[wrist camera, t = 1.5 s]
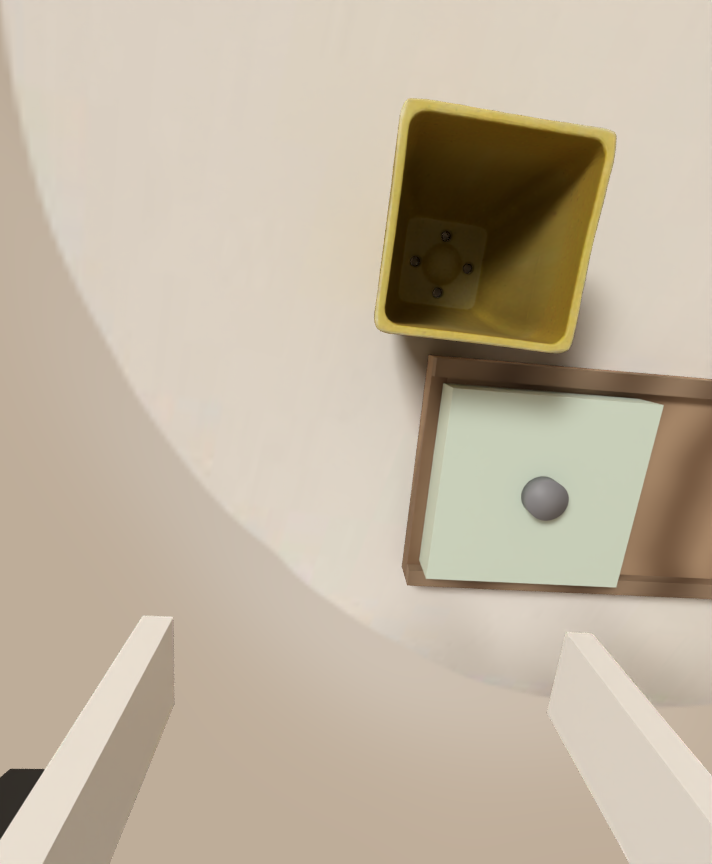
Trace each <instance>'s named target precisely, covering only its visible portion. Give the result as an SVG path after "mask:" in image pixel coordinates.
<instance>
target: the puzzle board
mask: <svg viewBox="0 0 712 864" xmlns="http://www.w3.org/2000/svg"><path fill="white" fill-rule="evenodd" d="M443 383H454V384H467V385H479V386H491V387H503V388H516V389H528V390H540V391H553V392H565V393H577V394H589V395H602V396H614V397H624V398H636V399H641V400H645V401H649V402H653V403H657V404H661V405H664V406H663V410H662V414H661V418H660V422H659V426H658V429H657V433H656V437H655V441H654V445H653V449H652V452H651V456H650V460H649V464H648V468H647V472H646V475H645V479H644V483H643V487H642V491H641V494H640V498H639V502H638V506H637V510H636V514H635V517H634V521H633V525H632V529H631V533H630V537H629V540H628V544H627V548H626V552H625V556H624V560H623V563H622V567H621V571H620V575H619V579H618V582H617V586H616V587H594V586H573V585H551V584H529V583H508V582H486V581H464V580H443V579H426V577H425V575H424V572H423V569H422V566H421V564H420V561H419V557H420V550H421V543H422V535H423V528H424V521H425V513H426V506H427V499H428V491H429V484H430V477H431V469H432V462H433V455H434V447H435V440H436V433H437V425H438V418H439V411H440V403H441V396H442V389H443ZM402 569H403V572H404V576H405V579H406V582H407V585H411V586H433V587H455V588H477V589H500V590H522V591H544V592H566V593H589V594H611V595H633V596H655V597H678V598H700V599H712V379H704V378H692V377H680V376H669V375H657V374H646V373H634V372H622V371H611V370H599V369H587V368H576V367H564V366H553V365H541V364H529V363H518V362H506V361H494V360H483V359H471V358H460V357H448V356H436V355H428V363H427V371H426V379H425V387H424V395H423V403H422V411H421V419H420V427H419V435H418V443H417V451H416V458H415V466H414V474H413V482H412V490H411V498H410V506H409V514H408V522H407V530H406V538H405V546H404V554H403V561H402Z"/></svg>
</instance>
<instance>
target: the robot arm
mask: <svg viewBox="0 0 712 864" xmlns="http://www.w3.org/2000/svg"><path fill="white" fill-rule="evenodd" d="M173 634H174V631H173V617H165V616H142V618H141V619H140V621H139V622H138V624H137V625H136V627H135V629H134V630H133V632H132V633H131V635H130V636H129V638H128V640H127V641H126V643H125V644H124V646H123V647H122V649H121V651H120V652H119V654H118V655H117V657H116V659H115V660H114V662H113V663H112V665H111V666H110V668H109V669H108V671H107V673H106V674H105V676H104V677H103V679H102V681H101V682H100V684H99V685H98V687H97V688H96V690H95V692H94V693H93V695H92V696H91V698H90V699H89V701H88V703H87V704H86V706H85V707H84V709H83V710H82V712H81V713H80V715H79V717H78V718H77V720H76V721H75V723H74V724H73V726H72V728H71V729H70V731H69V733H68V734H67V736H66V737H65V739H64V740H63V742H62V744H61V745H60V747H59V748H58V750H57V751H56V753H55V754H54V756H53V758H52V759H51V761H50V762H49V764H48V765H47V767H46V769H10V770H8V771H7V772H6V773H5V774H4V775H3V776H2V777H0V864H110V861H111V859H112V856H113V854H114V852H115V849H116V847H117V844H118V842H119V839H120V837H121V834H122V832H123V829H124V827H125V825H126V822H127V820H128V817H129V815H130V812H131V810H132V807H133V805H134V802H135V800H136V798H137V795H138V793H139V790H140V787H141V785H142V783H143V780H144V778H145V775H146V773H147V770H148V768H149V765H150V763H151V761H152V758H153V756H154V753H155V751H156V748H157V746H158V743H159V741H160V738H161V736H162V733H163V731H164V729H165V726H166V724H167V721H168V719H169V716H170V714H171V711H172V709H173V706H174V638H173V637H174V635H173ZM547 715H548V717H549V718H550V720H551V722H552V724H553V726H554V728H555V729H556V731H557V733H558V735H559V737H560V738H561V740H562V742H563V744H564V746H565V747H566V749H567V751H568V753H569V755H570V756H571V758H572V760H573V762H574V764H575V766H576V767H577V769H578V771H579V773H580V774H581V776H582V778H583V780H584V782H585V784H586V785H587V787H588V789H589V791H590V793H591V795H592V796H593V798H594V800H595V802H596V804H597V805H598V807H599V809H600V811H601V813H602V814H603V816H604V818H605V820H606V822H607V823H608V825H609V827H610V829H611V830H612V833H613V834H614V836H615V838H616V840H617V841H618V843H619V845H620V847H621V849H622V851H623V852H624V854H625V856H626V858H627V860H628V861H629V863H630V864H712V775H711V774H710V773H709V772H708V770H707V769H706V768H705V767H704V766H703V764H702V763H701V762H700V761H699V760H698V759H697V757H696V756H695V755H694V754H693V753H692V751H691V750H690V749H689V748H688V747H687V745H686V744H685V743H684V742H683V741H682V739H680V737H679V736H678V735H677V734H676V732H675V731H674V730H673V729H672V728H671V726H670V725H669V724H668V723H667V722H666V720H665V719H664V718H663V717H662V716H661V715H660V713H659V712H658V711H657V710H656V709H655V707H654V706H653V705H652V704H651V703H650V701H649V700H648V699H647V698H646V697H645V695H644V694H643V693H642V692H641V691H640V690H639V688H638V687H637V686H636V685H635V684H634V682H633V681H632V680H631V679H630V678H629V676H628V675H627V674H626V673H625V672H624V670H623V669H622V668H621V667H620V666H619V665H618V663H617V662H616V661H615V660H614V659H613V657H612V656H611V655H610V654H609V653H608V651H607V650H606V649H605V648H604V647H603V645H602V644H601V643H600V642H599V641H598V640H597V638H596V637H595V636H594V635H593V634H592V633H576V632H566V633H565V638H564V642H563V646H562V650H561V654H560V659H559V663H558V667H557V671H556V675H555V680H554V684H553V688H552V692H551V696H550V700H549V705H548V709H547Z"/></svg>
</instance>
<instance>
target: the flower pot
mask: <svg viewBox="0 0 712 864" xmlns="http://www.w3.org/2000/svg"><path fill="white" fill-rule="evenodd" d="M615 150H616V134H615V132H613V131H611V130H608V129H604V128H597V127H592V126H585V125H578V124H572V123H566V122H559V121H552V120H545V119H539V118H533V117H528V116H522V115H516V114H509V113H504V112H499V111H493V110H486V109H480V108H474V107H469V106H465V105H460V104H453V103H446V102H441V101H434V100H429V99H417V98H410V99H408V100H406V101H405V103H404V105H403V107H402V109H401V113H400V118H399V126H398V135H397V143H396V150H395V158H394V166H393V175H392V184H391V192H390V200H389V207H388V215H387V222H386V230H385V238H384V246H383V253H382V261H381V268H380V277H379V285H378V293H377V299H376V306H375V313H374V321H375V325H376V327H377V329H379V330H380V331H382V332H385V333H388V334H398V335H406V336H415V337H425V338H434V339H443V340H452V341H461V342H470V343H477V344H487V345H493V346H502V347H509V348H516V349H523V350H531V351H538V352H545V353H563V352H565V351H568V350H569V348H570V346H571V344H572V341H573V337H574V333H575V328H576V324H577V319H578V314H579V309H580V303H581V298H582V293H583V289H584V284H585V279H586V274H587V269H588V264H589V259H590V255H591V250H592V246H593V242H594V238H595V233H596V230H597V226H598V222H599V218H600V214H601V210H602V207H603V203H604V198H605V195H606V190H607V186H608V182H609V178H610V174H611V171H612V167H613V163H614V157H615ZM444 231H447V232H449V233H450V235H451V237H450V240H449V241H443V240H442V238H441V235H442V233H443V232H444ZM414 256H417V257H418V258H419V259H420V263H419V264H418V265H417V266H413V265H412V264H411V262H410V260H411V258H412V257H414ZM465 264H470V265H471V266H472V270H471V272H470V273H465V272H464V271H463V266H464V265H465ZM435 288H440V289H441V291H442V294H441V296H440V297H434V296H433V290H434V289H435Z"/></svg>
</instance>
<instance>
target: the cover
mask: <svg viewBox="0 0 712 864" xmlns="http://www.w3.org/2000/svg"><path fill="white" fill-rule="evenodd" d="M663 406H664V405H661V404H657V403H653V402H649V401H645V400H641V399H636V398H624V397H612V396H599V395H587V394H575V393H563V392H550V391H538V390H526V389H513V388H501V387H489V386H476V385H464V384H452V383H443V389H442V396H441V403H440V411H439V418H438V425H437V433H436V440H435V447H434V455H433V462H432V469H431V477H430V484H429V491H428V499H427V506H426V513H425V521H424V528H423V535H422V543H421V550H420V557H419V561H420V564H421V566H422V569H423V572H424V575H425V577H426V579H443V580H464V581H486V582H508V583H529V584H551V585H573V586H594V587H616V586H617V582H618V579H619V575H620V571H621V567H622V563H623V560H624V556H625V552H626V548H627V544H628V540H629V537H630V533H631V529H632V525H633V521H634V517H635V514H636V510H637V506H638V502H639V498H640V494H641V491H642V487H643V483H644V479H645V475H646V472H647V468H648V464H649V460H650V456H651V452H652V449H653V445H654V441H655V437H656V433H657V429H658V426H659V422H660V418H661V414H662V410H663Z"/></svg>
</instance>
